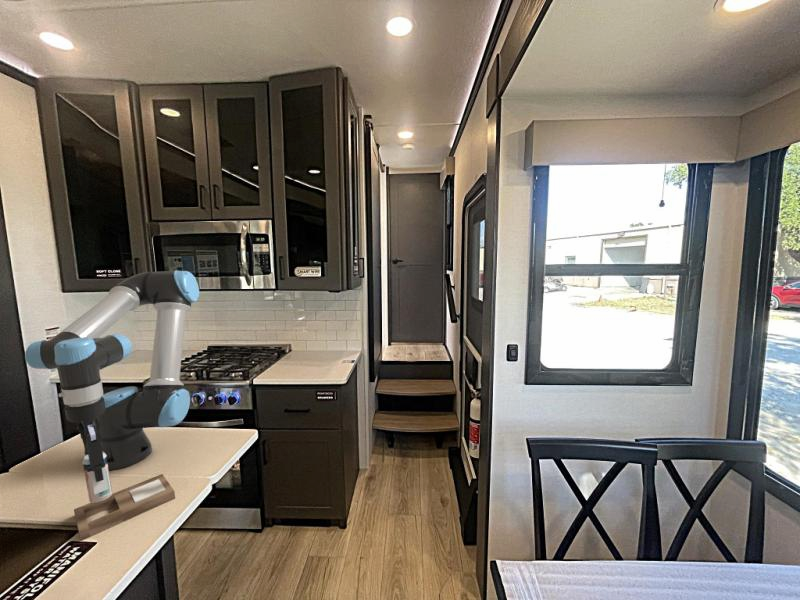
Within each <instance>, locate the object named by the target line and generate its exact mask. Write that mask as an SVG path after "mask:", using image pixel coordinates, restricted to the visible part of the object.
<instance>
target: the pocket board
mask: <svg viewBox="0 0 800 600" xmlns="http://www.w3.org/2000/svg"><path fill="white" fill-rule="evenodd" d="M175 494H176V492H175V490H174V489H173V487H172V485H171V484H170V483H169V481H168V480H167V479H166V477H165V476H164V474H163V473H161V474H159V475H157V476H154V477H150V478H149V479H146V480H143V481H140V482H139V483H137V484H132V485H131V486H128V487H126V488H123V489H121V490H119V491H116V492H113V493H112V495H111V496H110V497H109V498H108V499H106V500H104V501H102V502H99V503H91V502H88V503H86V504H84V505H82V506H78V507H76V508H74V509H73V512H74V518H75V522H76V527H77V530H78V534H79V539H80V541H81V542H82V541H84V540H86V539H88V538H90V537H93V536H95V535H97V534H99V533H102V532H103V531H106V530H108V529H110V528H113V527H115V526H118V525H119V524H121V523H123V522H126V521H128V520H131V519H133V518H135V517H137V516H139V515H142V514H144V513H147V512H149V511H150V510H152V509H155V508H157V507H159V506H161V505H164V504H165V503H167V502H170V501H172V500H175V499H176V495H175ZM113 507H116V508H117V510H114V511H112V512H109V513H106V514H105V515H103V516H100V517H98V518H95V519H93V520H90V521H89V522H88V521H87V518H90V517H92V516H95V515H97V514H99V513H101V512H103V511H107V510H108V509H112V508H113Z"/></svg>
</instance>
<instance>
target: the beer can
mask: <svg viewBox="0 0 800 600" xmlns="http://www.w3.org/2000/svg"><path fill="white" fill-rule="evenodd" d="M102 453H103V459H104V463H105V473H106V479H107V485H108V489H107V490H105V491H102V492H100V493H97V494H94V489H93V484H92V478H91V473H90V472H87V469H90V462H89V457H88V455H87V456H86V455H85V456H84V457H83V460H82V462H81V463H82V466H83V472H84V478H85V483H86V489H87V494H88V499H89V500H88V501H89V502H88V503H99V502H102V501H104V500H106V499H108V498H109V497H110V496H111V495H112V494H113V493H114V492H113V488H112V484H111V476H110V470H108V464H107V458H106V456H107V455H106V454H105V453H104V452H103V451H102Z"/></svg>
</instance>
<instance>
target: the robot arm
mask: <svg viewBox="0 0 800 600" xmlns="http://www.w3.org/2000/svg"><path fill="white" fill-rule="evenodd" d="M199 297H200V288H199V284H198V280H197V278H196V277H195V276H194V274H193V273H191V272H190V271H188V270H176V269H175V270H171V271H170V270H169V271H163V270H162V271H145V272H141V273H137V274H134V275H132V276H130V277H128V278H125V280H122V281H121V282H119V283H117V284H116V285H114V286H113V287H112V288H111V289H110V290H109V292H108V295H107V296H106V297H104V298H103V299H102V300H100V301H99V302H98V303H97V304H96V305H94V306H93V307H92V308H90V309H88V311H86V312H85V313H83V314H82V315H81V316H79V317H78V318H76V320H74V321H73V322H72V323H70V324H69V325H68V326H66V327H65V328H64V329H62V330H61V331H60V332H58V333H57V334H56V335H54V336H53V337H52V338H51V339H48V340H46V339H43V340H37V341H33V342H32V343H30V344H29V345H28V346H27V347H26V350H25V353H24V359H25V361H26V364H27V365H28V366H29V367H30V368H33V369H36V370H38V369H39V370H40V369H41V370H43V369H45V370H53V369H57V374H58V375H57V376H58V379H59V385H60V389H61V392H60V393H58V397H59V398H62V400H63V404H64V405H65V407H64V413H65V414H64V415H65V419H66V421H67V422H71V423H77V424H76V425H77V429H78V432H79V435H80V439H81V440H82V441H81V442H82V443H83V447H84V453H83V454H84V455H85V456H87V455H88V457H89V462H90V469H87V472H90V473H91V478H92V484H93V489H94V494H97V493H100V492H102V491H105V490H107V489H108V485H107V479H106V473H105V463H104V459H103V453H102V451H103V452H104V453H105V454H106V455H107V456H106V458H107V464H108V470H109V471H115V470H120V469H124V468H127V467H130V466H133V465H136V464H138V463H139V462H142V461H143V460H144V459H147V457H149V456H150V455H151V454H152V452H153V446H152V442H151V440H150V439H149V437H148V436H147V434H146V432H145V431H144V429H152V428H167V427H173V426H176V425H178V424H180V423H182V421H183V420H184V419H185V418H186V416H187V414H188V411H189V408H190V404H191V396H190V391H188V390H187V389H186V388H184V387H185V384H184V383H183V381H181V380H180V376H181V369H182V368H181V367H182V366H181V365H182V355H183V345H184V343H183V342H184V334H185V324H186V323H185V322H186V313H188V311H190V310H191V309H192V303H193V304H194V303H196V302H197V301H198V300H199ZM147 305H152V307H153V309H155V311H156V322H155V330H154V338H153V347H152V354H151V355H152V356H151V365H150V374H149V380H148V381H147V382H146V383H145V384H144V385H143V387H142V391H140V392H139V389H138V387H137V386H134V385H133V386H125V387H120V388H117V389H114V390H111V391H109V392H106V393H104V388H103V383H102V379H101V374H100V373H101V372H100V371H101V370H104V368H107V367H110V366H112V365H114V364H116V363H117V364H118V363H119V362H121V361H122V360H124V359H126V358H127V357H129V355H130V354H131V353H132V349H133V348H132V343H131V341H130V339H129V338H128V337H126V336H125V335H123V334H120V333H116V334H115V333H114V334H108V335H106V336H103V337H101V336H102V335H103V334H104V333H106V332H107V331H108V330H109V329H110V328H111V327H113V326H114V325H115V324H116V323H117V322H118V321H119V320H121V318H123V317H124V316H125V315H126V314H127V313H128V312H131V311H135V310H136V309H138V308H139V307H140V306H147Z"/></svg>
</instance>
